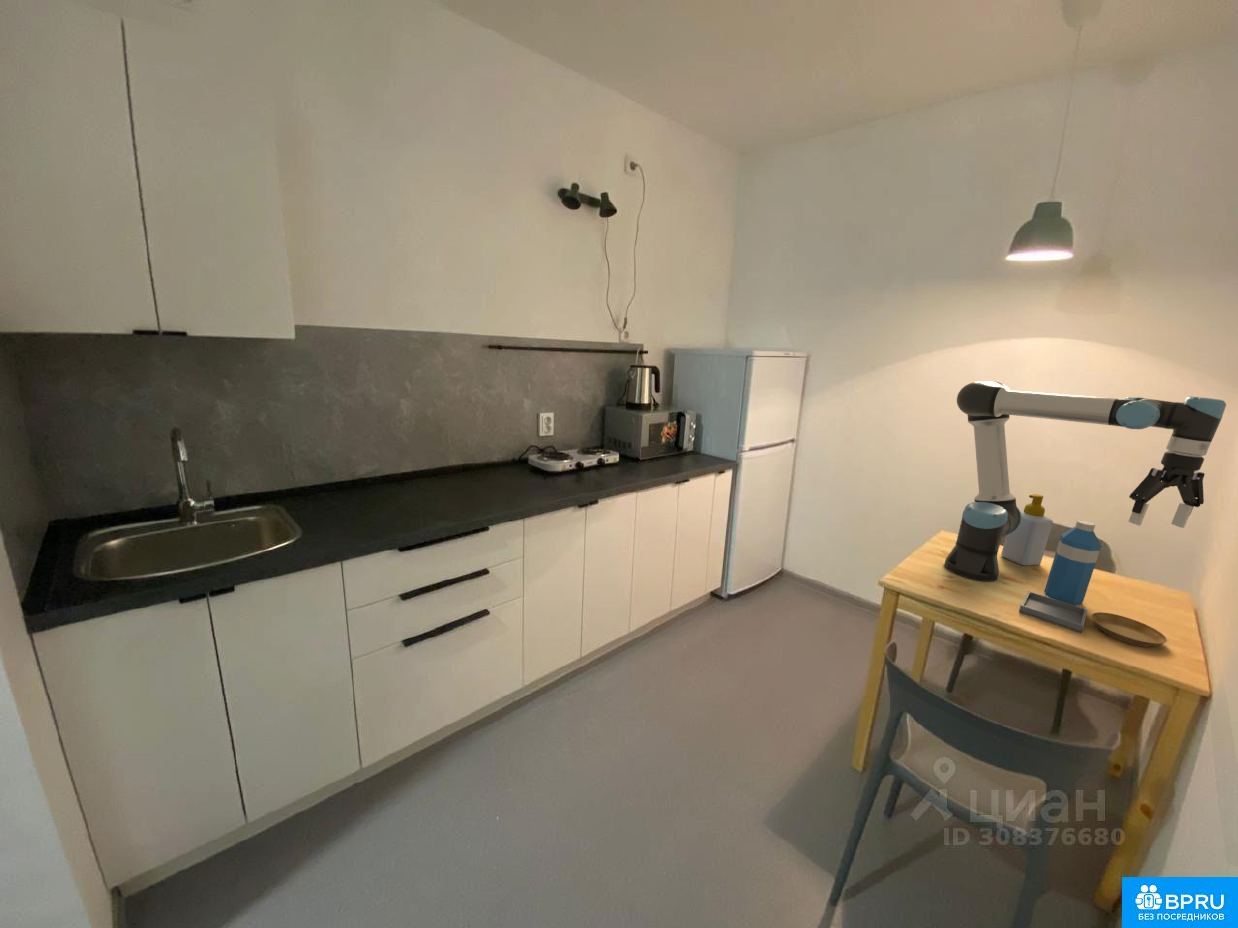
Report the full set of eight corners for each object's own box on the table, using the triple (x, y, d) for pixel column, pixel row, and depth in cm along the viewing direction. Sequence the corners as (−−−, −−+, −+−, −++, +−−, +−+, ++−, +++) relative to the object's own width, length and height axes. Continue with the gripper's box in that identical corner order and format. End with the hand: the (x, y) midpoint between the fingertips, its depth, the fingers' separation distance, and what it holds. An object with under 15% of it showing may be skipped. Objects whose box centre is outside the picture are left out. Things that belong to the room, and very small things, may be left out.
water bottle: (1090, 607, 149) (1116, 530, 143) (1055, 602, 151) (1079, 526, 145) (1069, 592, 158) (1093, 519, 152) (1036, 588, 160) (1058, 515, 153)
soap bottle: (998, 555, 184) (1016, 491, 178) (1017, 554, 186) (1035, 491, 180) (1022, 566, 176) (1042, 499, 169) (1042, 565, 178) (1061, 499, 172)
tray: (1018, 611, 144) (1020, 605, 144) (1026, 597, 153) (1028, 590, 153) (1081, 633, 135) (1083, 626, 134) (1085, 616, 144) (1087, 609, 143)
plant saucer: (1125, 621, 143) (1128, 613, 142) (1180, 653, 128) (1184, 644, 128) (1074, 618, 143) (1076, 610, 142) (1123, 650, 129) (1126, 641, 128)
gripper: (1158, 454, 132) (1130, 527, 138) (1242, 460, 134) (1210, 532, 140) (1129, 447, 139) (1103, 517, 145) (1209, 452, 141) (1180, 521, 147)
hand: (1155, 524), depth 143 cm, fingers open, 13 cm apart
